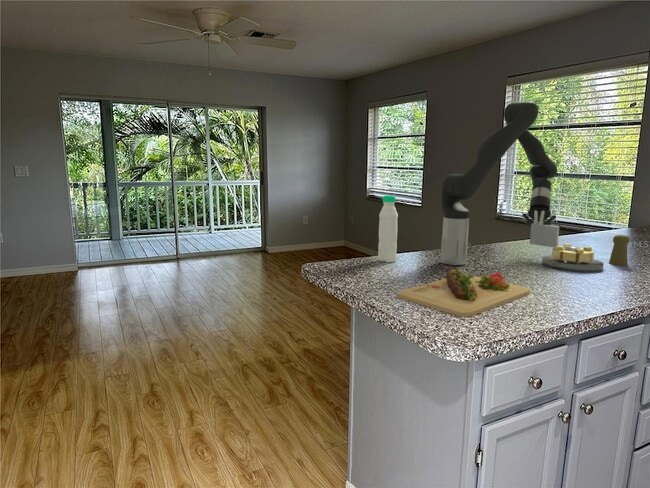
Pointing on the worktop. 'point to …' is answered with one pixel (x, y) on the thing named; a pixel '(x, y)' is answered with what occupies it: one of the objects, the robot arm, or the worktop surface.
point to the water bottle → (388, 230)
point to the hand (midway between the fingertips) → (537, 234)
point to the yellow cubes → (549, 238)
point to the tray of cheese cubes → (572, 263)
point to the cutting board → (464, 293)
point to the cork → (619, 251)
